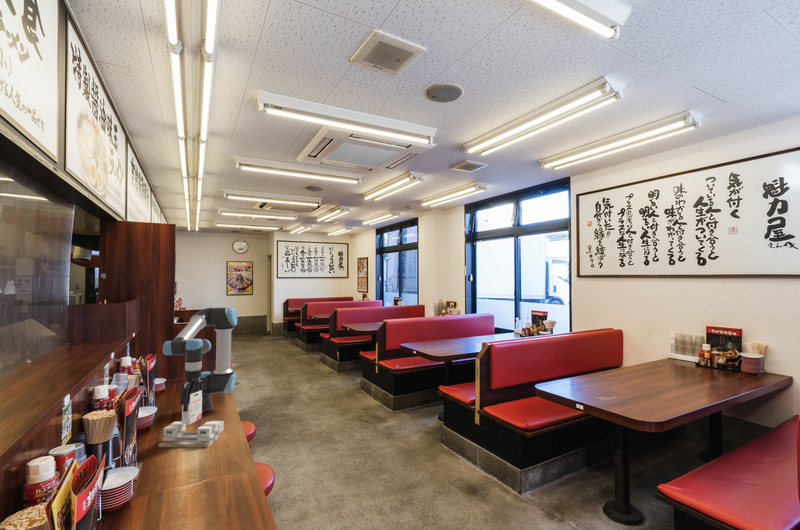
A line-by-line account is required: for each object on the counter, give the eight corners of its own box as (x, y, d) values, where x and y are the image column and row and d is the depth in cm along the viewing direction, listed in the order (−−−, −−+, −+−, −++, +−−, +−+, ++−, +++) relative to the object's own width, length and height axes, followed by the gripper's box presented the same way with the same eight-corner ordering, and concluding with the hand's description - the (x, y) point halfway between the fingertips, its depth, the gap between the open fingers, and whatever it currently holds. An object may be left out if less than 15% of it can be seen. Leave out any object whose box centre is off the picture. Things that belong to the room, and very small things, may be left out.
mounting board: (176, 435, 193) (176, 419, 194) (221, 435, 193) (221, 420, 194) (158, 447, 179) (159, 430, 180) (207, 447, 179) (207, 430, 180)
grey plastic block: (211, 430, 201) (211, 420, 201) (223, 430, 200) (223, 421, 201) (206, 433, 196) (206, 424, 196) (218, 434, 196) (219, 424, 196)
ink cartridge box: (193, 417, 191) (194, 389, 192) (201, 418, 190) (202, 389, 191) (180, 423, 183) (181, 394, 184) (189, 424, 182) (190, 394, 183)
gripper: (197, 365, 199) (196, 407, 198) (172, 374, 177) (171, 422, 176) (211, 365, 199) (210, 407, 198) (188, 374, 177) (186, 422, 176)
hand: (191, 414), depth 187 cm, fingers closed on ink cartridge box, 9 cm apart
